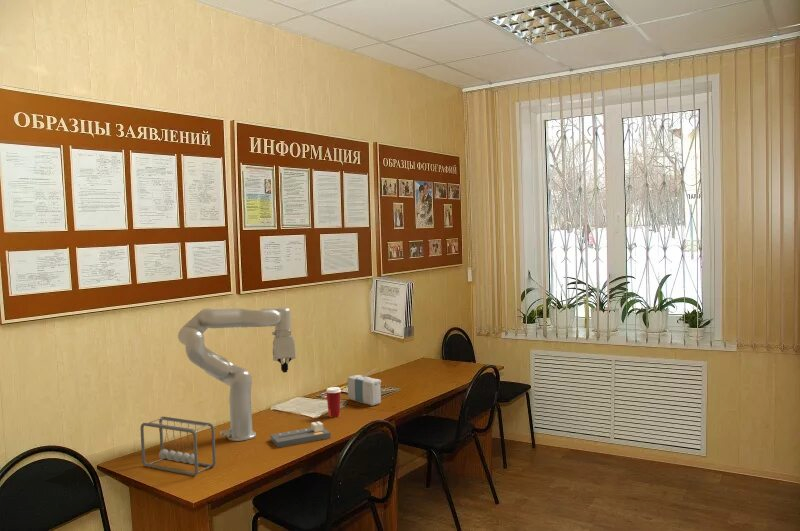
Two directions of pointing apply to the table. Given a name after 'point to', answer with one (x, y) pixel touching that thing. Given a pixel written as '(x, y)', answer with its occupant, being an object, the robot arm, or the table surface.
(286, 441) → the fader panel
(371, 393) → the stereo radio cassette player
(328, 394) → the paper cup
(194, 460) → the newton's cradle
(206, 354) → the robot arm
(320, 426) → the fader knob
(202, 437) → the table surface
